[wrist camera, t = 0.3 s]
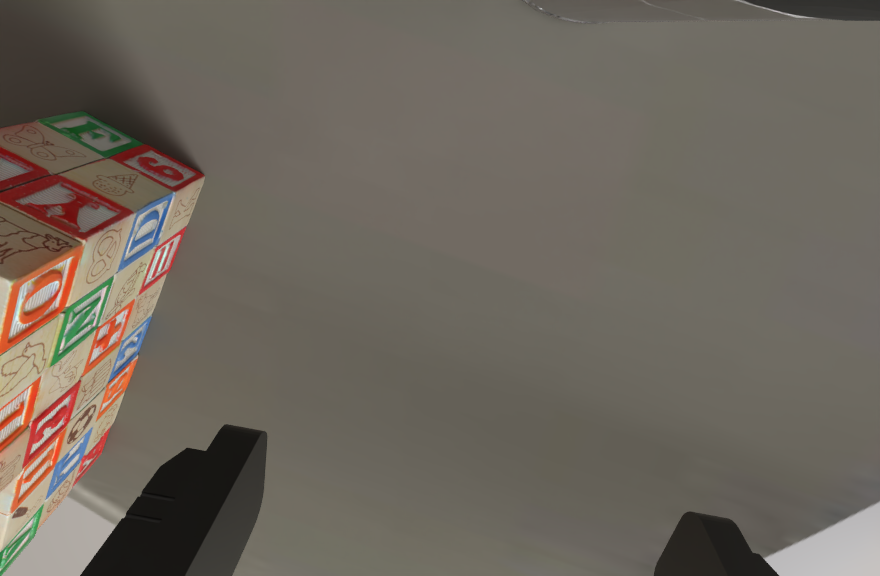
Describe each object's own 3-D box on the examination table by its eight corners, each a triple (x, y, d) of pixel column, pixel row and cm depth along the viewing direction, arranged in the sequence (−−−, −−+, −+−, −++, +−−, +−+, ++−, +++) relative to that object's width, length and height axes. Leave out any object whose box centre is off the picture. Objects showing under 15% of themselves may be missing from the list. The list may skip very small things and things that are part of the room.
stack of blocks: (106, 454, 34) (-67, 656, 23) (8, 413, 33) (-220, 605, 22) (208, 172, 26) (9, 284, 15) (80, 104, 25) (-240, 171, 14)
